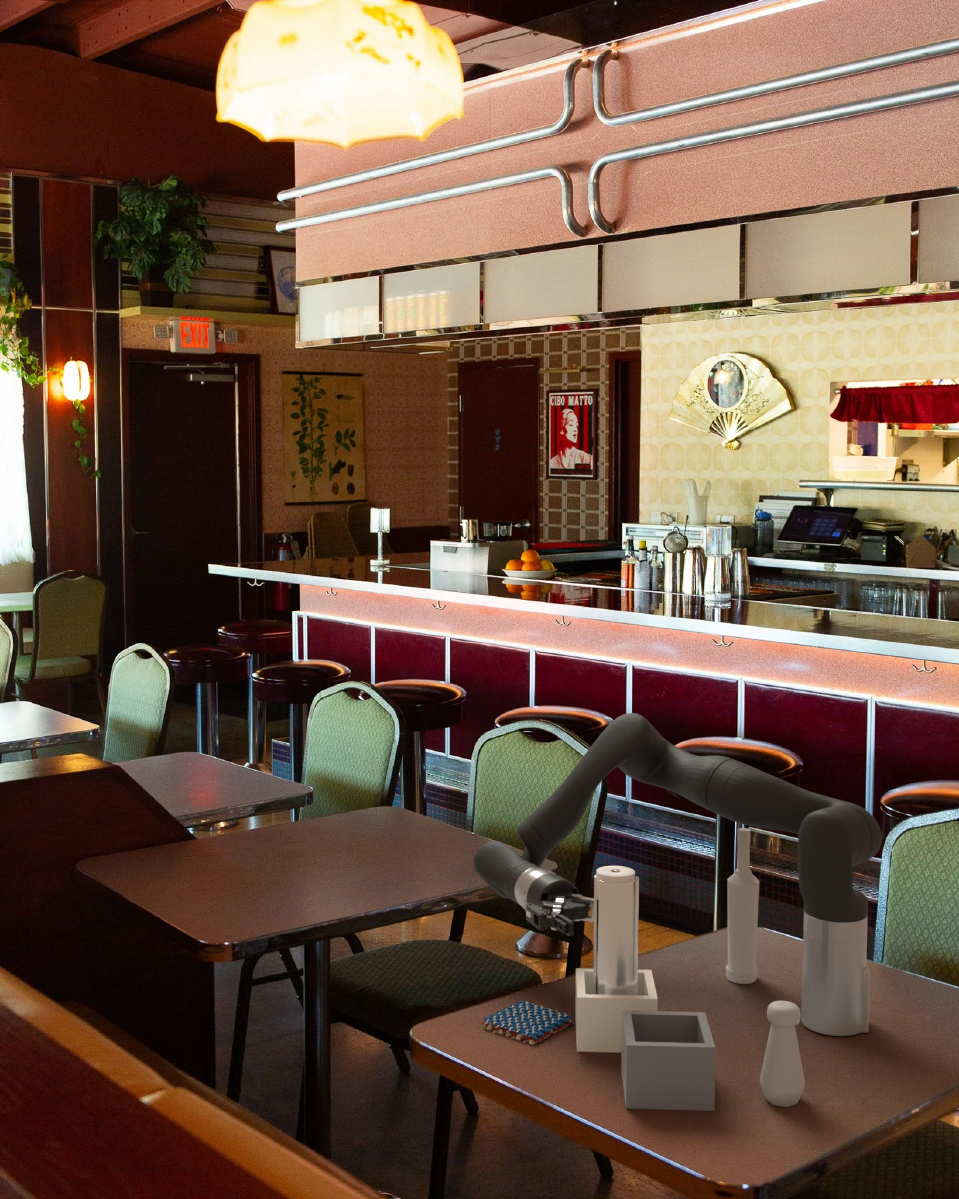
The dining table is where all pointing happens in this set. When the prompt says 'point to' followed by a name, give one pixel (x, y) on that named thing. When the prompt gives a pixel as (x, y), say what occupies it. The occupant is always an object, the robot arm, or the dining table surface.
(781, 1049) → the salt shaker
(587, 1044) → the white open box
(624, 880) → the silver tall cylinder
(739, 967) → the bottle
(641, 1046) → the grey open box
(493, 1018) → the woven mat
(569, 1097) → the dining table surface
